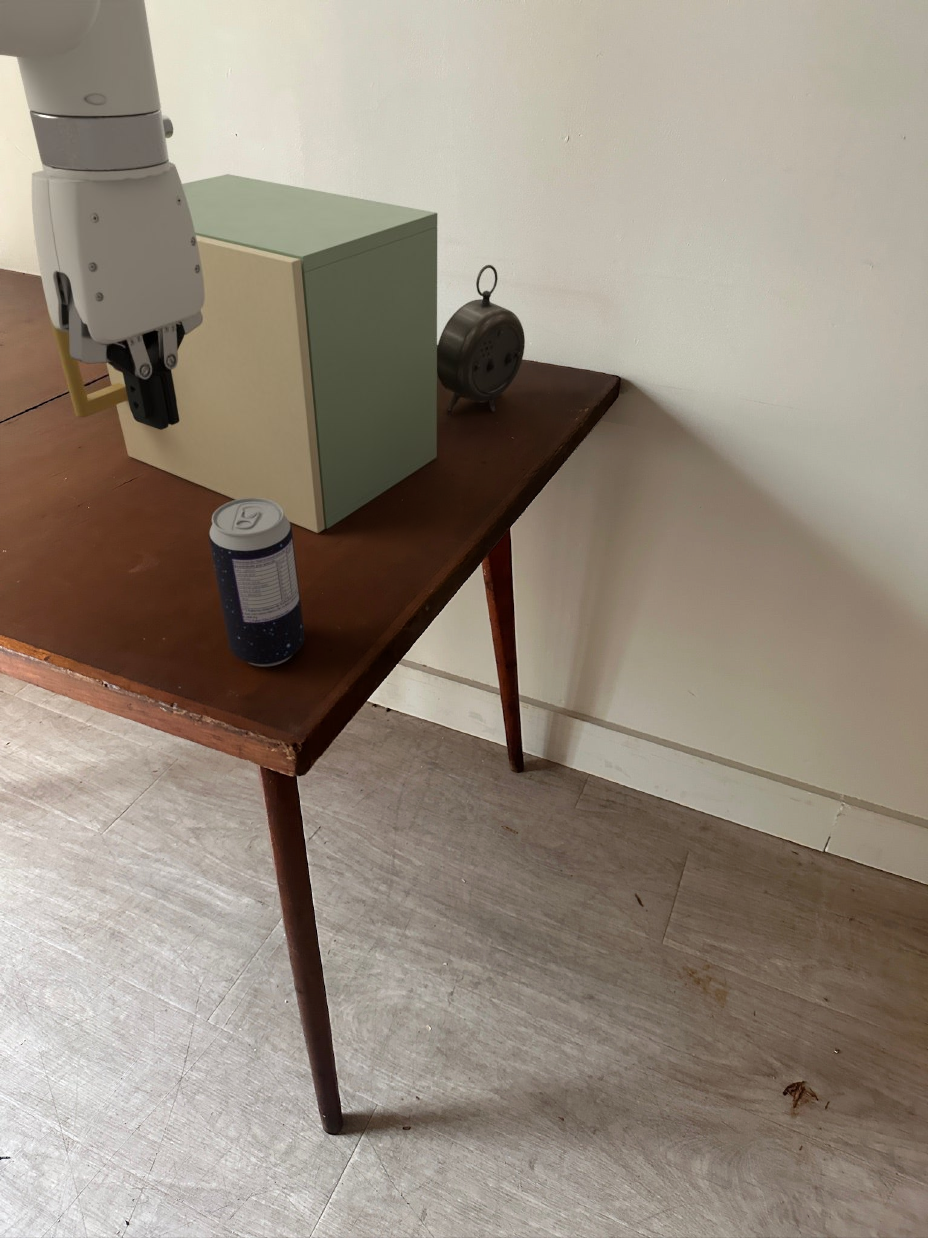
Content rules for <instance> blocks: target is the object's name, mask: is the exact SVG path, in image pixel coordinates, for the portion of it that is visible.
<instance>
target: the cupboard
mask: <svg viewBox="0 0 928 1238" xmlns="http://www.w3.org/2000/svg"><path fill="white" fill-rule="evenodd" d="M182 186H183V189H184V192H185V196H186V199H187V202H188V206H189V210H190V213H191V217H192V221H193V225H194V230H195V234H196V235H198V236H202V237H206V238H210V239H215V240H219V241H223V242H228V243H232V244H236V245H241V246H245V247H249V248H253V249H258V250H262V251H266V252H271V253H275V254H279V255H283V256H288V257H292V258H296V259H300V260H301V269H302V280H303V291H304V302H305V314H306V325H307V336H308V347H309V359H310V370H311V381H312V392H313V403H314V415H315V426H316V437H317V448H318V460H319V471H320V482H321V493H322V504H323V516H324V527H325V529H326V530H328V529H329V528H331V527H332V526H334V525H336V524H337V523H339V522H340V521H342V520H343V519H345V518H346V517H348V516H349V515H351V514H352V513H354V512H355V511H357V510H359V509H361V507H363V506H365V505H366V504H368V503H369V502H371V501H372V500H374V499H375V498H377V497H379V496H380V495H382V494H383V493H384V492H386V491H388V490H389V489H391V488H392V487H394V486H395V485H397V484H398V483H400V482H401V481H403V480H404V479H406V478H407V477H408V476H411V475H412V474H414V473H415V472H417V471H418V470H419V469H421V468H422V467H424V466H425V465H427V464H429V463H430V462H432V461H434V460H435V459H437V456H438V451H437V450H438V448H437V447H438V444H437V443H438V436H437V435H438V434H437V433H438V426H437V425H438V374H437V347H438V212H435V211H429V210H425V209H419V208H413V207H408V206H403V205H397V204H392V203H386V202H381V201H375V200H371V199H364V198H359V197H353V196H348V195H342V194H339V193H338V194H337V193H332V192H327V191H321V190H316V189H310V188H305V187H301V186H300V187H298V186H294V185H288V184H283V183H279V182H278V183H277V182H272V181H267V180H261V179H256V178H250V177H245V176H239V175H234V174H230V173H229V174H228V173H227V174H222V175H217V176H213V177H209V178H204V179H198V180H194V181H189V182H184V183H182Z"/></svg>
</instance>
